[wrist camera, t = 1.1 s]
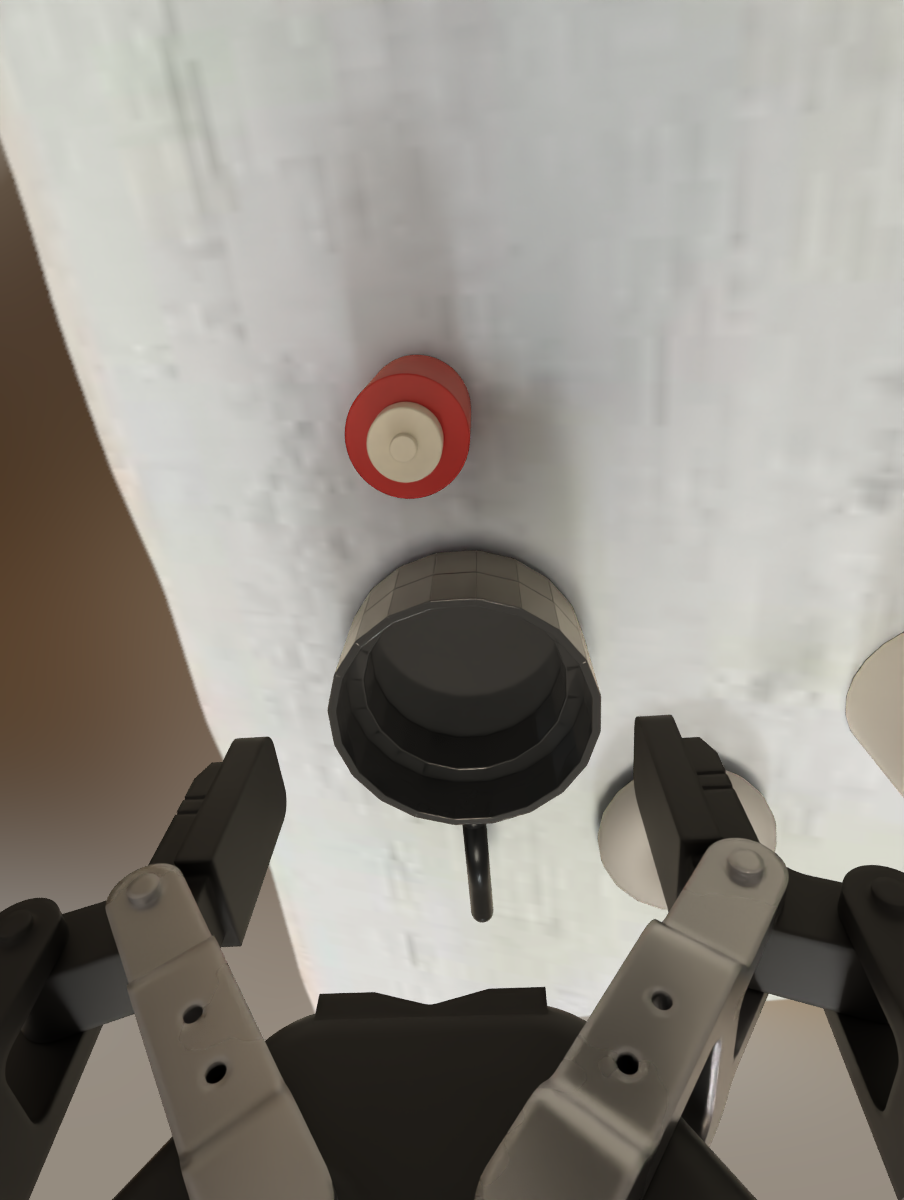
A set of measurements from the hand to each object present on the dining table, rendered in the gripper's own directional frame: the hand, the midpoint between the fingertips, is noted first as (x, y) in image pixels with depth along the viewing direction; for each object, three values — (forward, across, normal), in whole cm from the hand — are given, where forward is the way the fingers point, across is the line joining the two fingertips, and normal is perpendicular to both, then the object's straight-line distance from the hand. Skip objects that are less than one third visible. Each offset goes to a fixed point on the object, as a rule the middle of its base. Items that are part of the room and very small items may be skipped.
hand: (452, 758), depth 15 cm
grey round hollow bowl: (+20, +1, +9) cm, 22 cm away
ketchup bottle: (+20, +2, -4) cm, 21 cm away
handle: (+15, +1, +19) cm, 24 cm away
